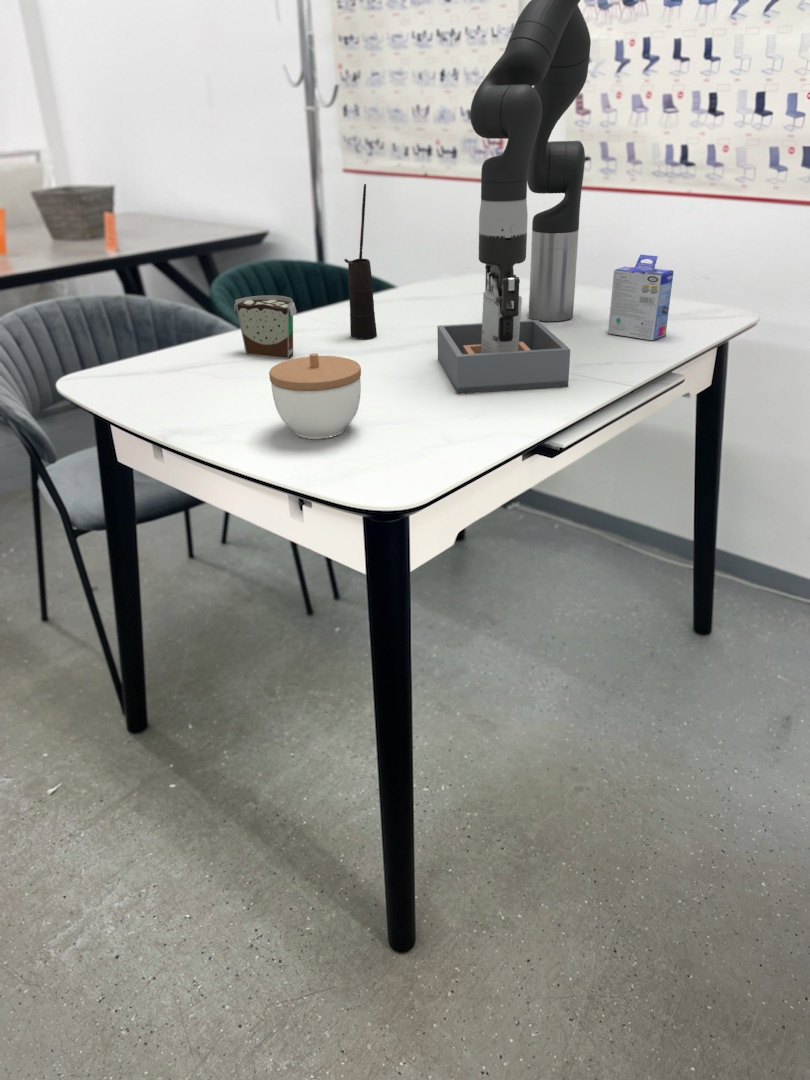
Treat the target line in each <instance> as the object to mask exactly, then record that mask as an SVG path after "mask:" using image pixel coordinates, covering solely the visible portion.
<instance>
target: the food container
mask: <svg viewBox="0 0 810 1080" xmlns="http://www.w3.org/2000/svg"><path fill="white" fill-rule="evenodd" d="M234 301H235V302H234V304H233V305H234V307H233V311H234V312H237V313H236V314H237V317H238V322H239V326H240V331H241V336H242V342H243V345H244V350H245V351H244V352H245V354H246V356H254V357H263V358H271V359H272V358H273V359H281V360H282V359H283V360H291V359H293V357H294V315H296V314H297V313H298V312H297V309H296V305H295V302H294V301H293V299H292V298H291V297H288V296H284V295H255V296H245V297H242V298H238V299H234Z"/></svg>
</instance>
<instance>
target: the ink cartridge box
mask: <svg viewBox="0 0 810 1080" xmlns="http://www.w3.org/2000/svg"><path fill="white" fill-rule="evenodd" d="M658 257H659V256H658V255H647V254H639V257H638V258H637V261H636V264H635V266H623V267H619V268H616V269H615V270H613V278H612V290H611V299H610V300H611V301H610V308H609V309H610V310H609V316H608V317H609V320H608V328H607V329H608V330H607V334H610V335H616V336H622V337H628V338H635V339H640V340H648V341H655V340H658V339H662V338H664V337H666V336H667V328H668V320H669V313H670V312H669V311H670V302H671V296H672V295H671V294H672V288H673V279H674V270H672V269H664V268H663V269H661V268H656V264H657V260H658ZM643 260H650V261H652V262H651V263H646V262H642V261H643Z"/></svg>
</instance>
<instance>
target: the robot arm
mask: <svg viewBox="0 0 810 1080" xmlns="http://www.w3.org/2000/svg"><path fill="white" fill-rule="evenodd" d="M580 2H581V0H530V1H529V2H528V3H527V4H526V5H525V7H524V8H523V9H522V11H521V13H520V14H519V16H518V18H517V20H516V22H515V24H514V27H513V29H512V31H511V34H510V37H509V39H508V41H507V44H506V47H505V49H504V52H503V53H502V55H501V56H500V58H498V60H497V61H496V62H495V64H494V65H493V66H492V68H491V69H490V70H489V71H488V73H487V75H486V76H485V78H484V79H483V80H482V81H481V83H480V85H479V86H478V88H477V90H476V92H475V93H474V95H473V98H472V102H471V104H470V105H471V106H470V111H469V112H470V113H469V116H470V123H471V124H470V125H471V127H472V129H473V130H474V133H476V134H477V136H479V137H480V138H484V139H488V140H489V139H490V140H491V139H494V140H496V139H499V140H500V139H501V140H502V139H507V142H506V146H505V149H504V150H503V153H502V154H500V155H496V156H492V157H489V158H487V159H485V160H484V161H483V163H482V165H481V173H480V175H481V176H480V179H481V180H480V181H481V182H480V183H481V184H480V186H481V187H480V206H479V207H480V208H479V213H478V214H479V215H478V217H479V218H478V261H479V262H480V263H482V264H484V265H485V266H484V267H485V289H484V290H485V291H484V292H487V291H493V293H494V303H495V304H496V305H497V306H498V312H499V313H498V315H499V340H500V341H501V342H506V341H512V339H513V318H515V316H518V313H519V311H518V305H519V296H520V282H521V281H520V277H519V276H517V275H516V274H514V273H515V272H514V271H515V270H514V266H515V265H516V264H518V265H519V264H522V263H524V262H525V261H526V260H527V240H528V215H529V214H528V205H527V204H528V201H527V196H528V195H527V194H528V189H529V190H530V192H531V193H534V194H564V196H563V199H562V200H561V201H560V202H558V203H557V204H556V205H554V206H553V207H550V208H549V209H546V210H543V211H541V212H538V213H536V214H534V215H533V218H532V222H531V226H532V227H531V250H530V252H531V253H530V274H529V276H530V277H529V295H528V296H529V298H528V317H529V319H531V320H538V321H539V322H540V321H542V322H562V321H567V320H570V319H571V320H572V318H573V317H574V304H575V294H576V293H575V292H576V277H577V275H576V274H577V262H578V261H577V258H578V243H579V242H578V241H579V230H580V213H581V212H580V211H581V199H582V198H581V197H582V189H583V182H584V174H585V164H586V153H585V152H586V151H585V148H584V145H583V143H582V142H580V140H579V141H578V140H562V141H560V140H559V141H555V140H554V141H549V139H550V137H551V135H552V132H553V130H554V128H555V126H556V125H557V123H558V121H559V120H560V119H561V117H562V116H563V115H564V114H565V113H566V112H567V110H568V109H569V108H570V107H571V105H573V103H574V101H575V100H576V99H577V97H578V96H579V94H580V93H581V92H582V90H583V88H584V86H585V84H586V81H587V79H588V72H589V71H588V70H589V64H590V63H589V62H590V56H591V55H590V54H591V45H592V43H591V35H590V30H589V27H588V25H587V24H588V23H587V22H586V20H585V17H584V15H583V13H582V11H581V9H580V6H579V3H580ZM501 297H502V298H501ZM506 304H509V305H510V309H506Z"/></svg>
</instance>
